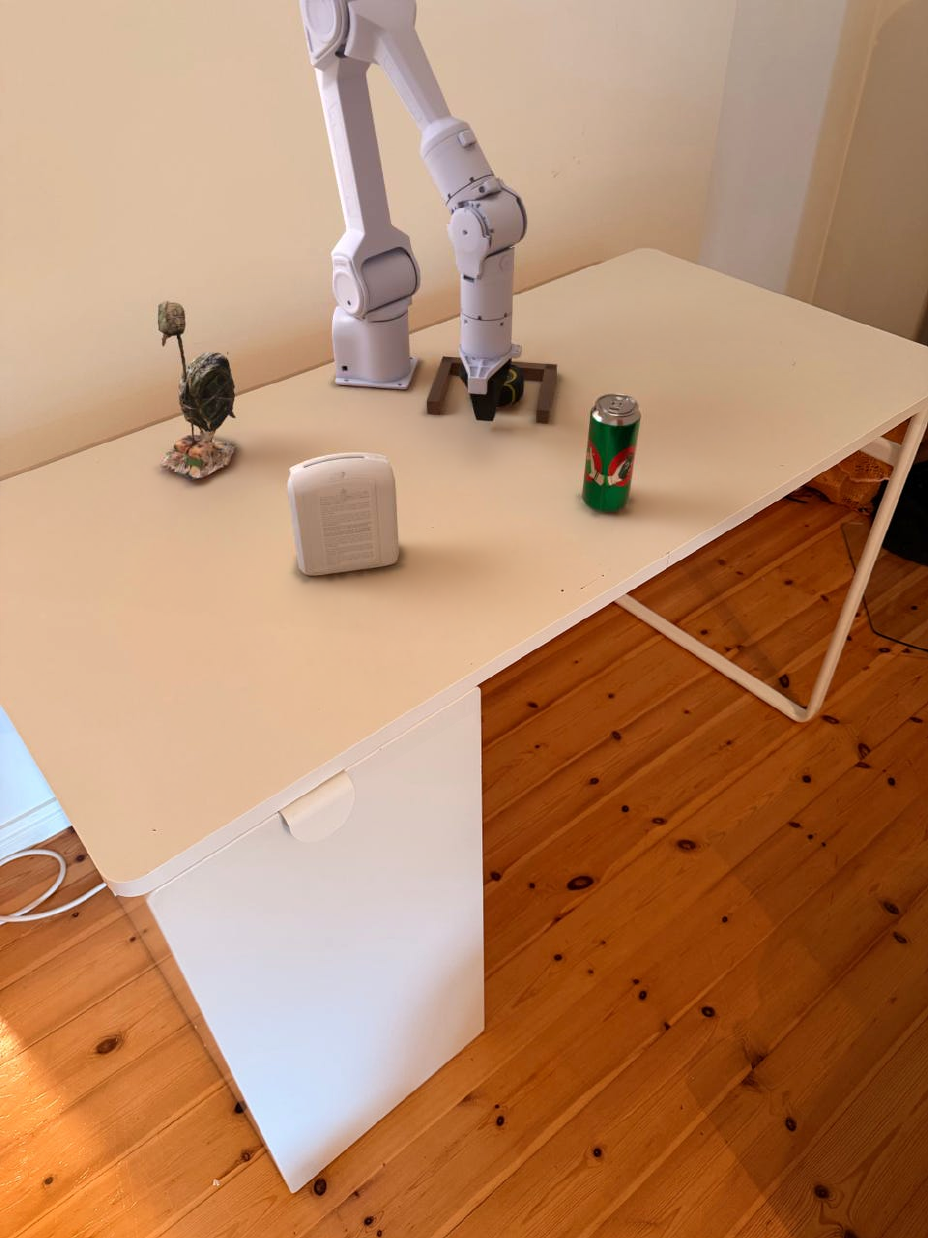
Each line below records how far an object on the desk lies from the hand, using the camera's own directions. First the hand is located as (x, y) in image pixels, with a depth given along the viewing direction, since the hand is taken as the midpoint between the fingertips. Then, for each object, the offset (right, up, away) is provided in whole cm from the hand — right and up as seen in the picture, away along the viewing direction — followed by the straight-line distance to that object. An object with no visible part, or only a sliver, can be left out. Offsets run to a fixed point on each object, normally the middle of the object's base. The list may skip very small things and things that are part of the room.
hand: (485, 417), depth 111 cm
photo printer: (-14, -18, -17) cm, 29 cm away
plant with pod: (-32, -5, -3) cm, 33 cm away
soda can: (+13, -11, -10) cm, 20 cm away
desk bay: (+1, +4, +6) cm, 7 cm away
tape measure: (+1, +4, +6) cm, 7 cm away
